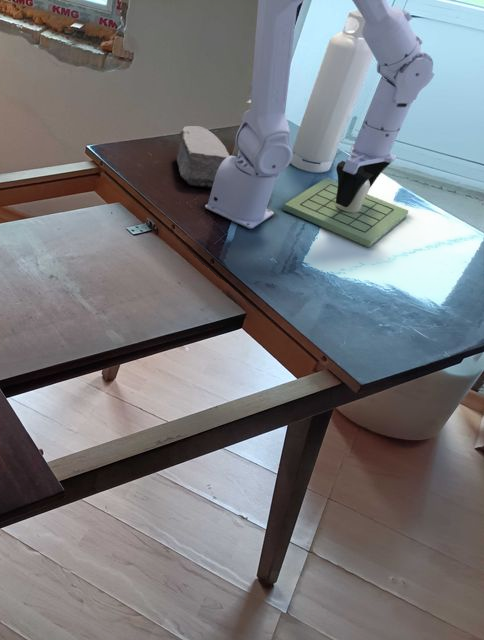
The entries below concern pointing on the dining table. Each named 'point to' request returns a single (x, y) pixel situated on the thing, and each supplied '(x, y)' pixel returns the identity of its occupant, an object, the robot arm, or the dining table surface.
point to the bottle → (333, 97)
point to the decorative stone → (199, 156)
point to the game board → (345, 213)
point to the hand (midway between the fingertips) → (350, 198)
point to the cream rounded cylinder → (357, 199)
